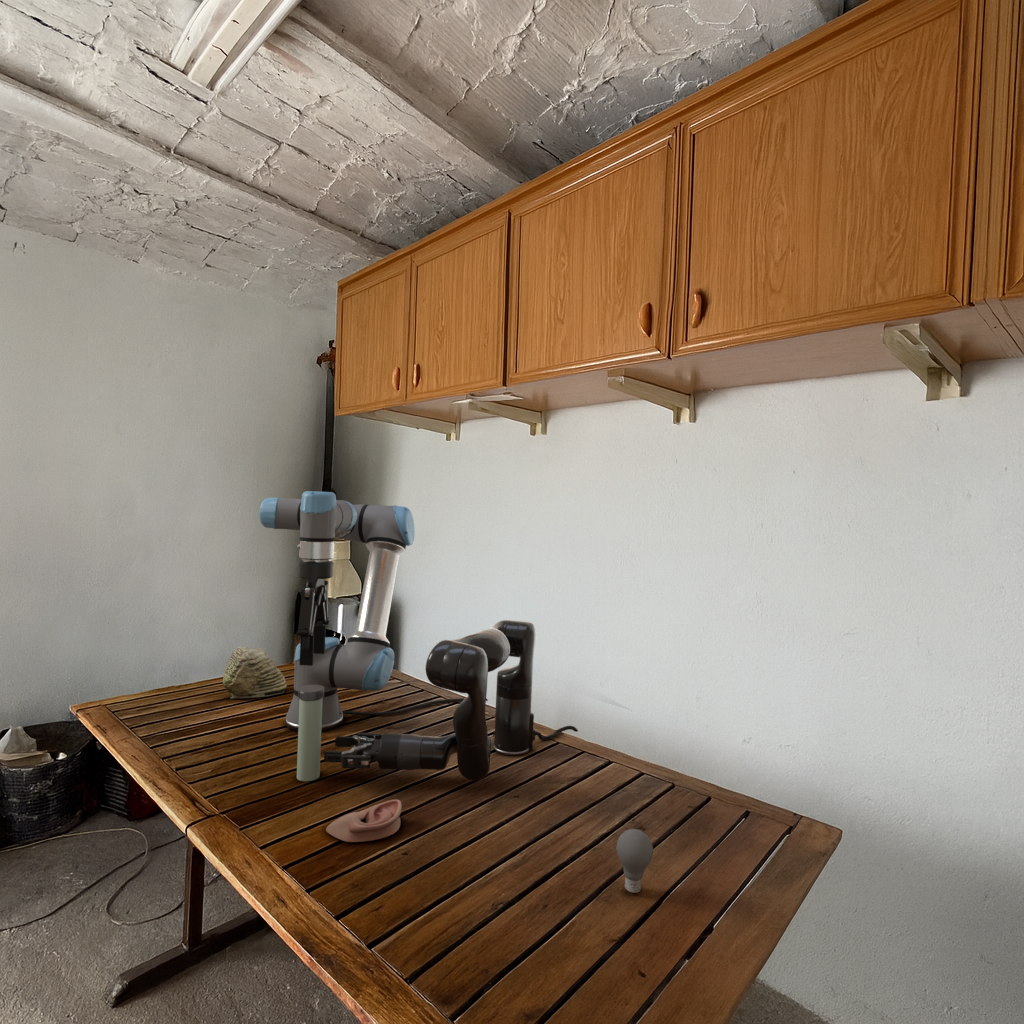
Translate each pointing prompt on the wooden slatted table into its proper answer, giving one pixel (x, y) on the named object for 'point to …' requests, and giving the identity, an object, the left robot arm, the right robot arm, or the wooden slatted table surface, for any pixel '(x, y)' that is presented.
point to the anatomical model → (368, 823)
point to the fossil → (252, 674)
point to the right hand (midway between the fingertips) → (330, 748)
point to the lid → (311, 692)
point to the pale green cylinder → (309, 739)
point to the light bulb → (634, 857)
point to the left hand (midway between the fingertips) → (312, 658)
